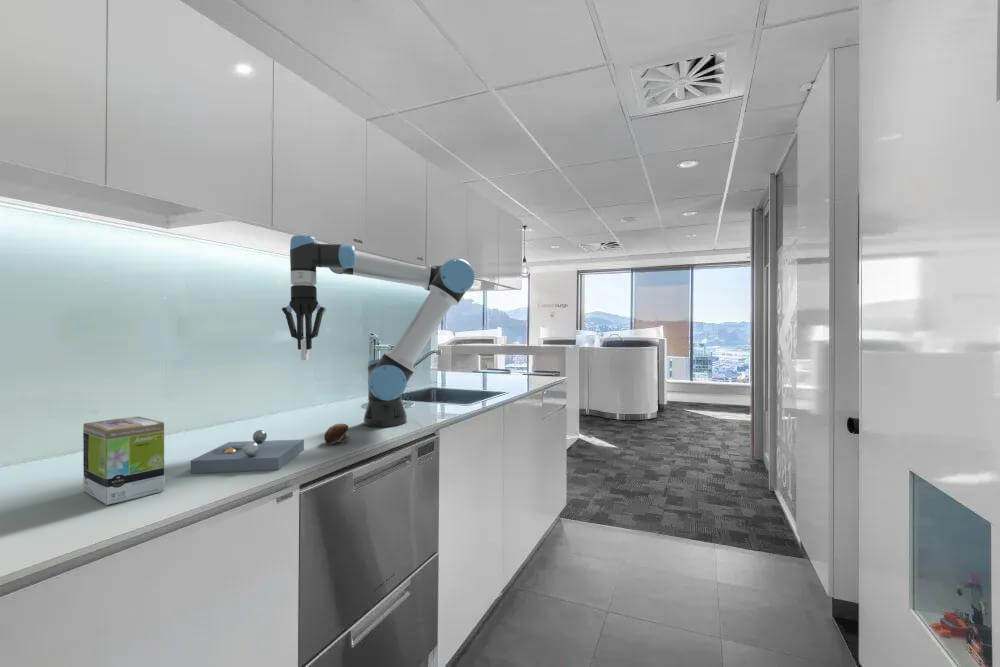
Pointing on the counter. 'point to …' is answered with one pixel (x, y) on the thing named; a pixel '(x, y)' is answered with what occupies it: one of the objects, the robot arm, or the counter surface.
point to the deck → (248, 457)
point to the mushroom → (336, 434)
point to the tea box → (123, 458)
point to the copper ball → (230, 450)
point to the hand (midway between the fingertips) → (304, 359)
